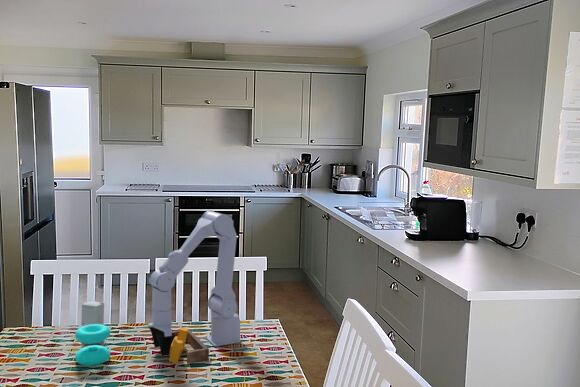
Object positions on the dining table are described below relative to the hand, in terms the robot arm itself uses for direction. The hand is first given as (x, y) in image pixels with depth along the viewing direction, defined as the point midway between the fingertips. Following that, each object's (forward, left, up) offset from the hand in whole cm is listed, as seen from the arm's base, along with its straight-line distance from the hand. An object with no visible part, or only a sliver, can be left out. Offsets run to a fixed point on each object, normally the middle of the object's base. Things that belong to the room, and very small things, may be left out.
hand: (161, 350), depth 171 cm
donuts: (+20, -5, -2) cm, 20 cm away
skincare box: (+17, -23, -2) cm, 28 cm away
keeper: (-9, 0, -1) cm, 9 cm away
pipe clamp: (-4, +1, -1) cm, 4 cm away
